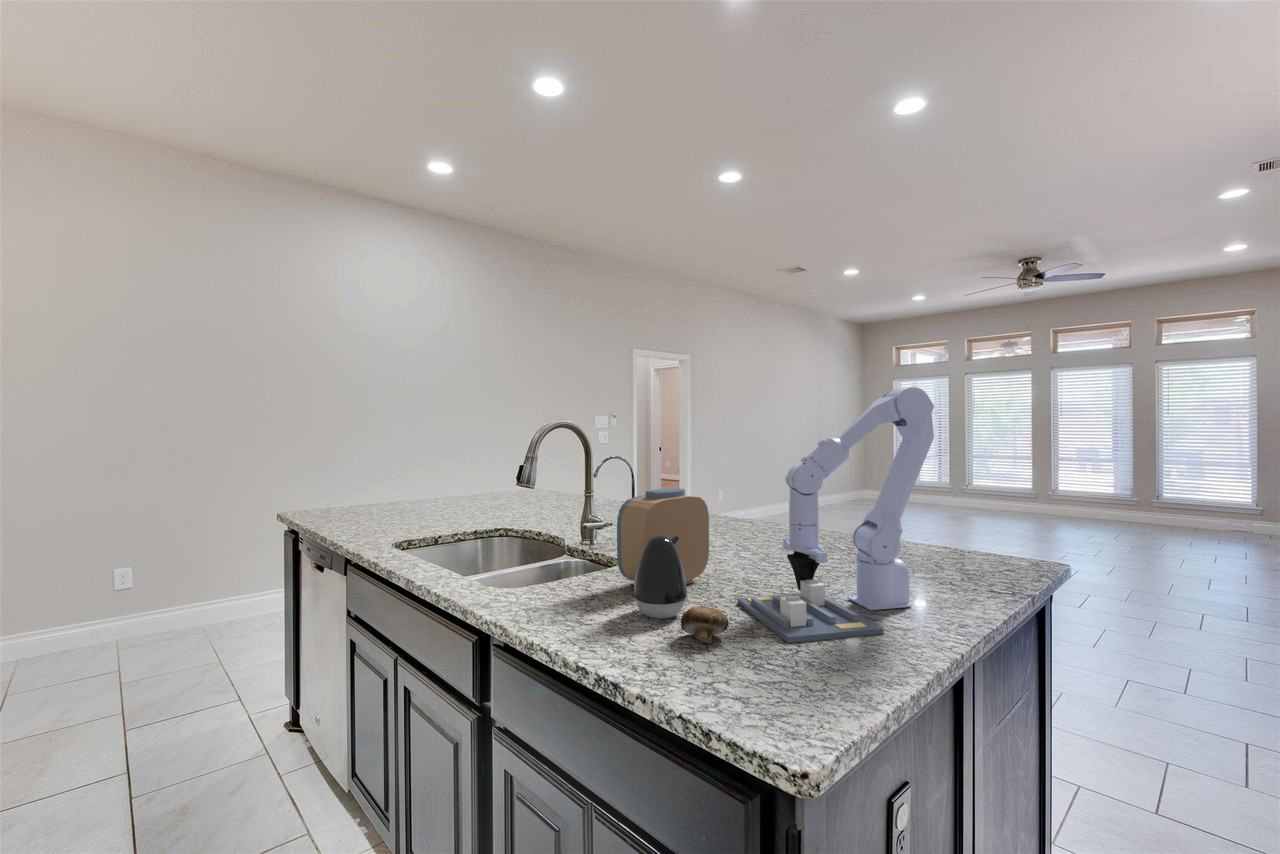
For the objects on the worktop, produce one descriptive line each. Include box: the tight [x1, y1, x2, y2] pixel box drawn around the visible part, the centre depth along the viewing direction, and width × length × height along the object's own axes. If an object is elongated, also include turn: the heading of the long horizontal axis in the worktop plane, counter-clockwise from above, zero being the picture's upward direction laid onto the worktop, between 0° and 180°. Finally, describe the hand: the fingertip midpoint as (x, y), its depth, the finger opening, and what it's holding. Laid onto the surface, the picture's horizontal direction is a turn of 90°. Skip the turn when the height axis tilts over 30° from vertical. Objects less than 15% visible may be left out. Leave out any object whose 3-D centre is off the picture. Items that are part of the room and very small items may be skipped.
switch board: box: [737, 592, 884, 644], centre depth 109 cm, size 18×22×2 cm
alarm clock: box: [616, 487, 710, 586], centre depth 132 cm, size 21×10×22 cm, turn 133°
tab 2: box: [800, 578, 826, 606], centre depth 114 cm, size 3×4×5 cm
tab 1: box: [780, 596, 806, 627], centre depth 103 cm, size 3×4×5 cm
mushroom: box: [680, 605, 730, 645], centre depth 98 cm, size 8×8×6 cm
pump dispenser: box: [633, 536, 688, 620], centre depth 111 cm, size 10×10×15 cm
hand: (804, 590), depth 117 cm, fingers closed
